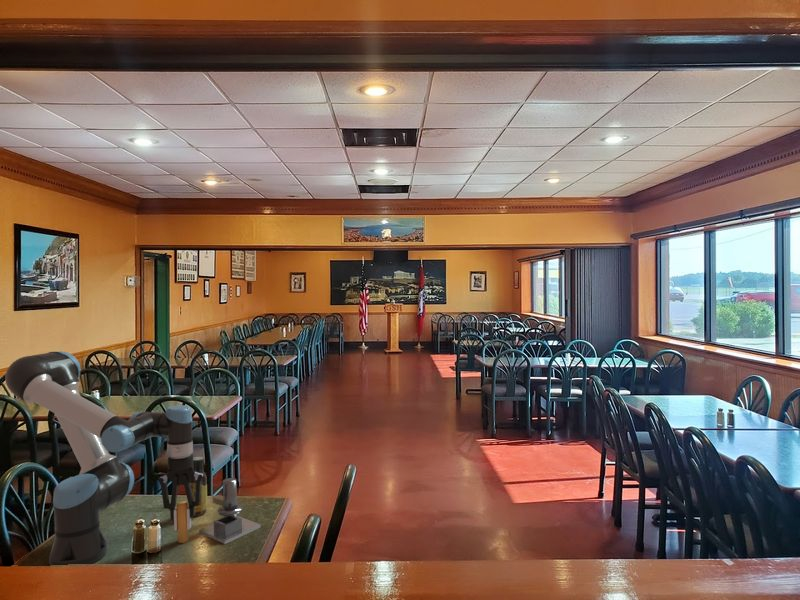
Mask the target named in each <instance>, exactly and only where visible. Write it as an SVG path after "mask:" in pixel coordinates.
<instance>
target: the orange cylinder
mask: <svg viewBox="0 0 800 600" xmlns="http://www.w3.org/2000/svg"><path fill="white" fill-rule="evenodd" d="M176 507H177V525H178V530H177V543H179V544H185V543H187V542H189V540H190V536H189V535H190V533H189V530H190V529H189V530H187V508H188V501H184V500H183V501H179V502H176Z"/></svg>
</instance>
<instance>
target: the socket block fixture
mask: <svg viewBox="0 0 800 600" xmlns="http://www.w3.org/2000/svg"><path fill="white" fill-rule="evenodd" d="M237 489H238V487H237V478H234V477H231V478H230V477H229V478H225V479H223V480H222V495H221V494H217V495H214V496H212V503H213V504H216V505H219V506H220V507H219V508H218V509H217V514H218V515H220V516H222V517H220V518H218V519H214V520H213V523H212V524H209V525H207V526H205V527H202V528H200V529H198V533H199V534H200V535H203V536H205V537H207V538H210V539H212V540H215V541H216V542H219V543H221V544H223V545H226V544H228V543H230V542H233V541H234V540H237V539H239V538H241V537H243V536H245V535H248V534H250V533H252V532H254V531H256V530H259V529H260V528H261V527H262V526H261V525H262V524H260V523H258V522H255V521H253V520H249V519H247V518H244V517H242V516H239V514H240V513H242V512H243V510H244V507H243V505H242V504H239V503H238V490H237Z"/></svg>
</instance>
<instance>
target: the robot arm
mask: <svg viewBox="0 0 800 600" xmlns="http://www.w3.org/2000/svg"><path fill="white" fill-rule="evenodd" d="M81 371H82V369H81V364H80V361H78V359H77V358H76V356H74V355H73V354H71V353H69V352H66V351H62V350H60V351H59V350H58V351H48V352H45V353H39V354H33V355H26V356H22V357H19V358H18V359H16V360H15V361H13V362H12V363H11V364H9V366H8V368H7V369H6V371H5V372H6V373H5V377H4V378H5V379H4V380H5V385H6V387H7V389H8V390H9V391H10V392H11V393H12V394H13V395H14V396H15V397H17V398H18V399H20V400H21V401H24V402H25V403H28V404H32V403H33V404H34V403H35V404H37V405H39V406H40V407H42V408H45V410H48V411H49V412H52V413H53V414H54V415H55V417H56V419H57V421H58V423H59V425H60V427H61V429H62V432H63V433H64V436H65V438H66V439H67V442H68V443H69V445H70V446H69V447H71V450H72V452H73V453H74V455H75V457H76V460H77V462H78V463H79V466H80V471H79V474H77V475H75V476H70V477H67V478H66V479H63V480H62V481H61V482H59V483H58V484H57V485H56V486H55V487H54V489H53V497H52V504H53V505H52V506H53V521H54V522H53V523H54V540H53V543H52V546H51V549H50V552H49V556H48V561H49V564H50V565H68V564H89V565H92V564H94V563H95V562H98V561H100V560H101V559H103V558H104V557H105V556H106V555H107V554H108V543H107V540H106V537H105V536H104V533H103V531H102V529H101V528H102V527H101V525H100V523H101V522H100V521H101V520H100V513H101V512H103V511H105V510H106V509H108V508H110V507H111V506H113V505H115V504H116V503H118V502H121V501H122V500H123V499H124V498H126V497H127V496H128V495H129V494H130V493H131V491H132V490H133V487H134V485H135V474H134V471H133V469H132V468H131V467H130V465H128V464H126V463H125V462H122V461H121V462H120V461H119V460H118V457H117V456H116V455H114V454H111V453H119V452H121V451H125V450H127V449H129V448H131V447H132V446H135V445H137V444H139V443H141V442H143V441H145V440H148V439H150V438H153V437H155V438H157V437H158V438H159V437H162V438H166V450H167V456H168V457H167V473H166V474H164V475H161V476H160V477H159V478H158V480H157V481H158V483H159V485H160V488H161V496H162V505H163V509H167V510H169V511H170V512H169V513H170V521H173V527H174V532H176V531H177V532H178V525H177V498H178V490H179V489H178V488H179V486H181V485H182V486H183V487H184V490H185V494H186V499H187V502H188V505H189V506H188V508H187V530H191V529H192V518H194V517H195V516H194V507H195V506H198V505H199V503H200V495H201V479H202V477H203V475H204V474H203V473H198V472H195V469H194V465H193V458H194V454H193V453H194V442H193V441H194V440H193V416H192V409H191V407H190V406H189V405H186V404H185V405H184V404H179V405H172V406H169V407H167V408H166V409H165V412H154V411H153V412H151V411H142V412H141V411H139V412H135V413H133V414H132V416H131V417H129V419H128V420H126V419H124V418H123V417H120V416H118V415H116V414H114V413H112V412H110V411H108V410H107V409H105V408H103V407H102V406H99V405H97V404H96V403H94V402H92V401H91V400H89V399H87V398H85V397H83V396H81V394H80V392H79V390H78V389H79V387H80V385H81V382H80V380H79V378H80V377H81ZM109 452H110V453H109ZM193 476H195V480H197V481H196V492H195V501H194V499H193V494H192V490H191V483H190V480H191V479H192V477H193ZM168 481H170V482H171V484H172V487H171V489H172V490H171V497H169V490H168ZM49 564H48V565H49ZM50 565H49V566H50Z"/></svg>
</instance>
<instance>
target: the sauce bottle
mask: <svg viewBox="0 0 800 600" xmlns="http://www.w3.org/2000/svg"><path fill="white" fill-rule="evenodd" d="M204 460H205V459H204V457H203V456H196V457H194V456H193V465H194V469H195V472H198V473H203V474H204V475H203V477H202V479H201V495H200V503H199V505H198V506H195V507H194V517H200V516H202V515H204V514H206V513H207V510H208V484H207V483H208V482H207V481H208V480H207V479H208V477H207V474H206V473H205V471H204V470H205V469H204ZM196 481H197V480H195V476H193V477H192V479H191V480H190V483H191V490H192V494H193V499H194V501H195V492H196ZM188 506H189V505H188ZM199 515H200V516H199Z"/></svg>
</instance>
